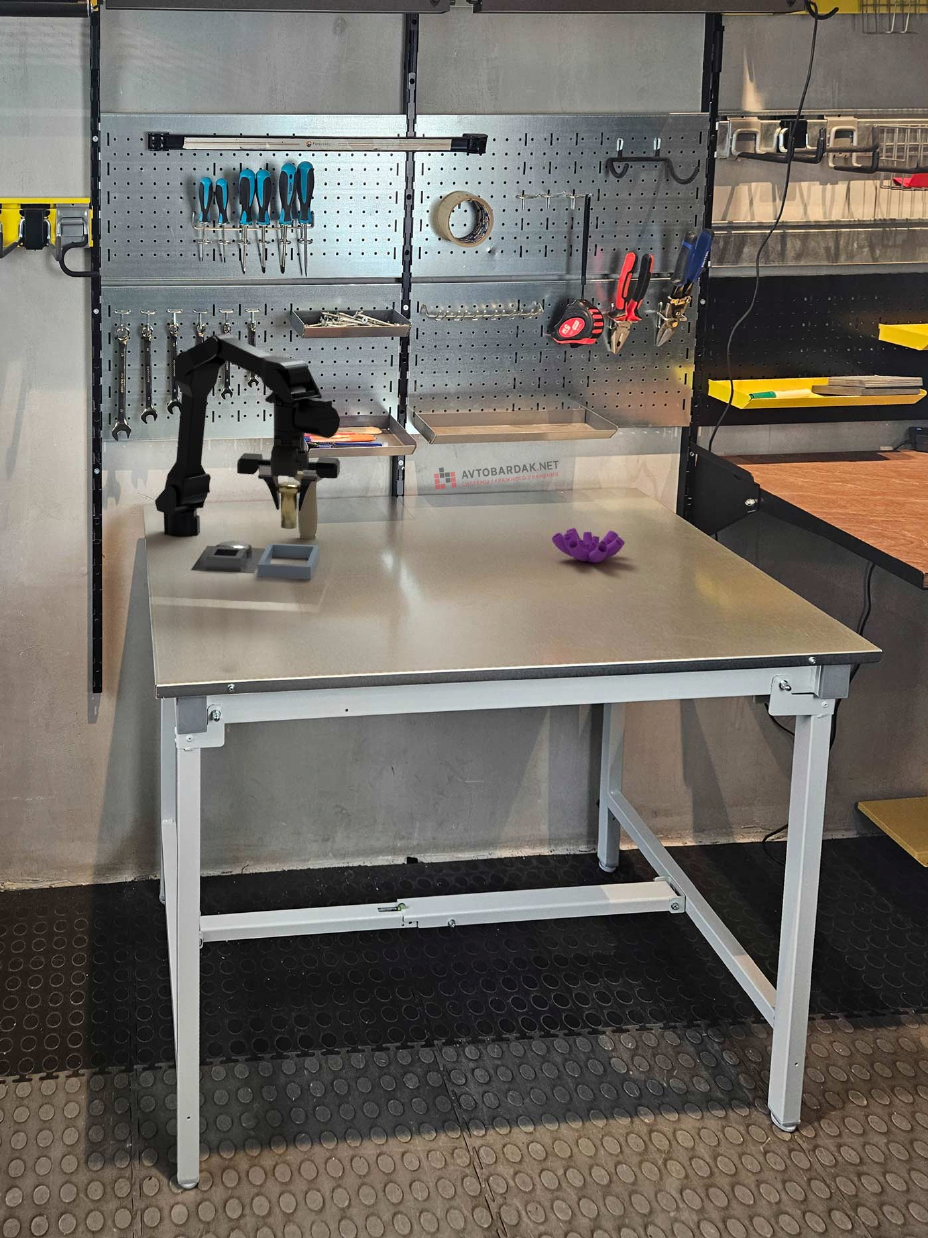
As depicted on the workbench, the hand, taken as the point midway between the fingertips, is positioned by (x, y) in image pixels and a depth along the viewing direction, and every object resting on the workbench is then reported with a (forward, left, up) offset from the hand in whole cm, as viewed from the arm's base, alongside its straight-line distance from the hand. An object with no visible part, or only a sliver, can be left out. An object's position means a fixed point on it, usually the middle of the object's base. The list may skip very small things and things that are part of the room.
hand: (288, 509), depth 249 cm
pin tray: (0, 0, -12) cm, 13 cm away
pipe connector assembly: (+59, +17, -13) cm, 63 cm away
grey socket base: (-12, +3, -12) cm, 18 cm away
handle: (+1, +21, -13) cm, 25 cm away
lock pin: (0, 0, -3) cm, 3 cm away
